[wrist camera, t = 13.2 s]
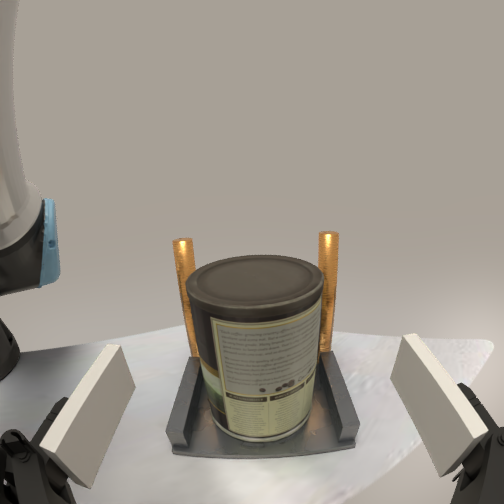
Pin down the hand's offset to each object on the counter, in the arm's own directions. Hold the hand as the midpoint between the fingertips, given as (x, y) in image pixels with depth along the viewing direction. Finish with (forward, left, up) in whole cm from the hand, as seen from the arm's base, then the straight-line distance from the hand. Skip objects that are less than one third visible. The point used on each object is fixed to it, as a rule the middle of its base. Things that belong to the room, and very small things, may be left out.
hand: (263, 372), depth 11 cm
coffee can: (0, +10, -13) cm, 17 cm away
